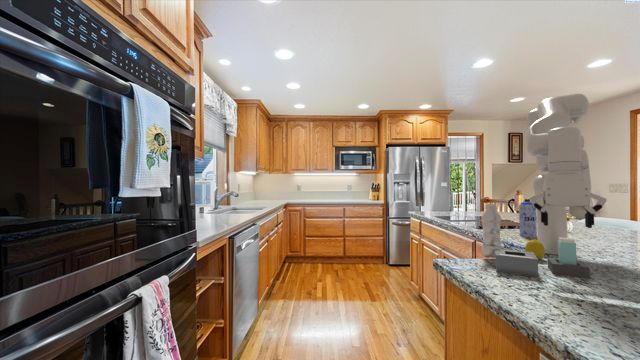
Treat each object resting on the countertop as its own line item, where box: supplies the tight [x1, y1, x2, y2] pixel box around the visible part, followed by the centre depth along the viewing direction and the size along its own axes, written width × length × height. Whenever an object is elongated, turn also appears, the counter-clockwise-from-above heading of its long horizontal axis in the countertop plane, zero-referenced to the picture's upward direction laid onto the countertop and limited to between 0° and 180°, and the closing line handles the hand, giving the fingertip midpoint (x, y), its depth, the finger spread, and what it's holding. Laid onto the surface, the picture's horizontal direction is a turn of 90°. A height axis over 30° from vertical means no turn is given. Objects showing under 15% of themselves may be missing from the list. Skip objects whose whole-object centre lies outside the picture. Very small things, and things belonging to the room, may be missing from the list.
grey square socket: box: [547, 257, 591, 280], centre depth 82 cm, size 8×8×4 cm
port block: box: [495, 248, 539, 278], centre depth 85 cm, size 10×10×6 cm
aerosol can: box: [518, 198, 537, 238], centre depth 150 cm, size 8×8×20 cm
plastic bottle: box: [481, 203, 502, 259], centre depth 103 cm, size 6×7×20 cm
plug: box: [557, 237, 578, 265], centre depth 82 cm, size 4×4×10 cm
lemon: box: [524, 238, 546, 261], centre depth 98 cm, size 6×6×8 cm
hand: (566, 226), depth 82 cm, fingers open, 9 cm apart
